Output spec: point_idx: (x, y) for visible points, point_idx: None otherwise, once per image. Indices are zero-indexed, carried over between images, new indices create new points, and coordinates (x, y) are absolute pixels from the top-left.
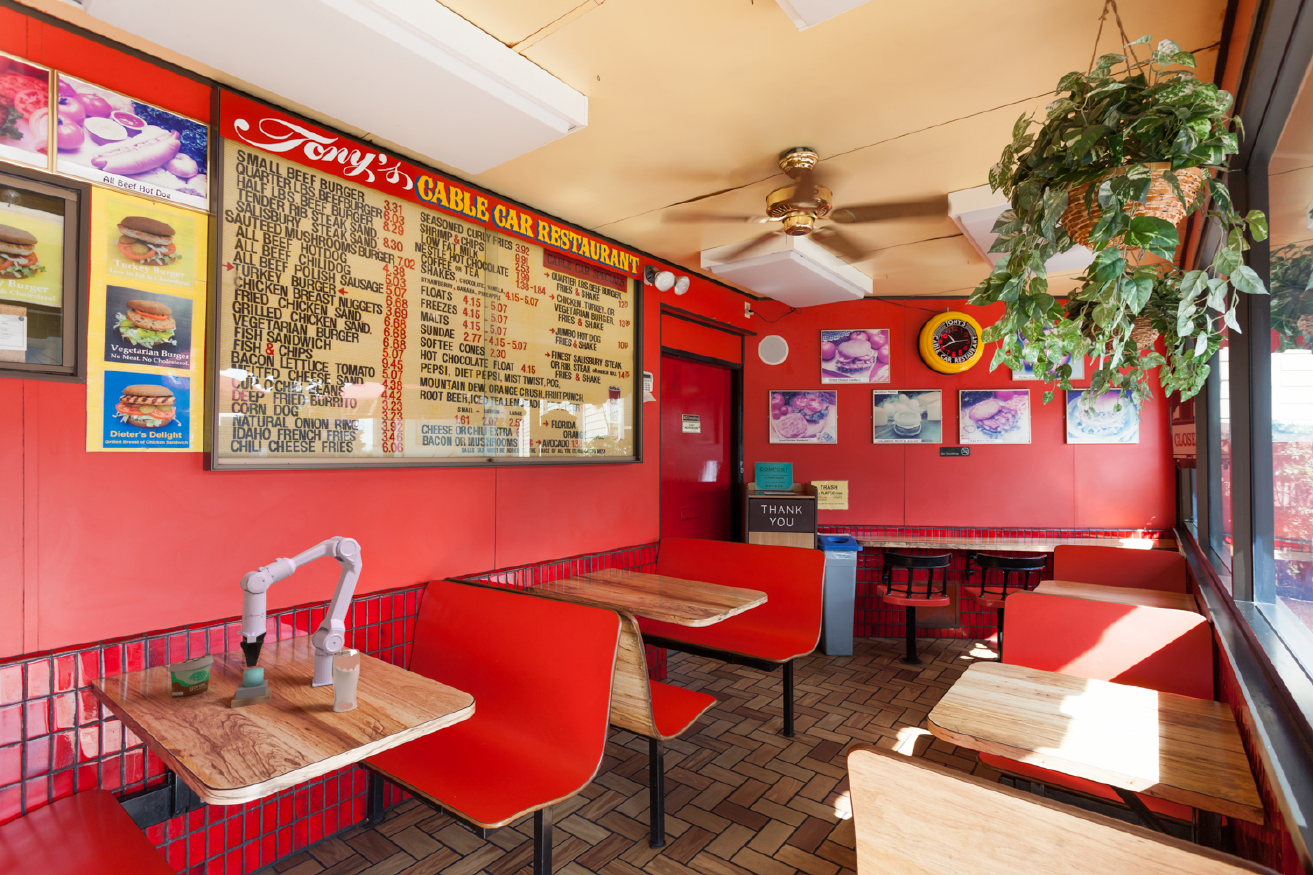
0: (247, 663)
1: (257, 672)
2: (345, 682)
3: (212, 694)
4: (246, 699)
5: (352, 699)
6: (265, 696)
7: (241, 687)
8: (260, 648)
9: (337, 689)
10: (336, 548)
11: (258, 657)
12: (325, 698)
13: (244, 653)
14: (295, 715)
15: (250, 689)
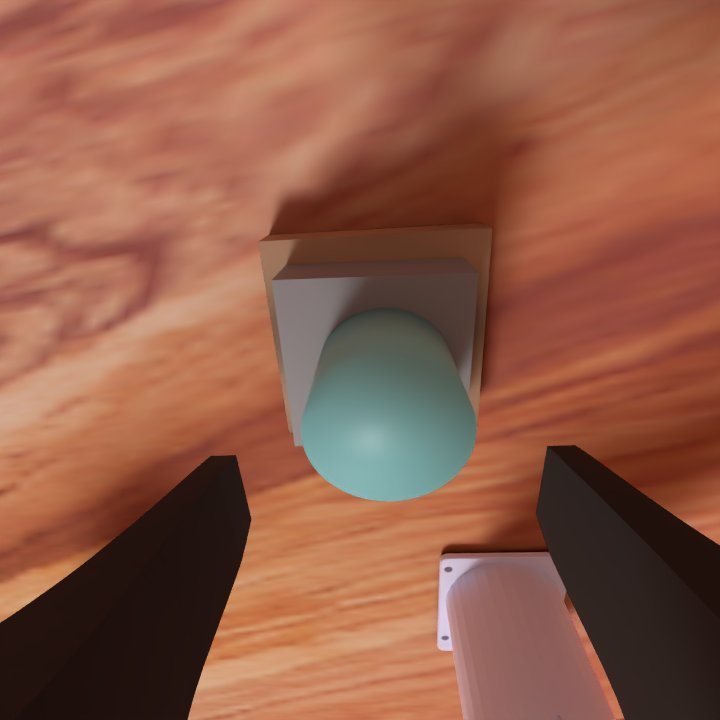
0: (183, 487)
1: (314, 464)
2: None
3: (688, 24)
4: (273, 325)
5: None
6: (289, 413)
7: (345, 305)
8: (599, 652)
9: None
10: None
11: (541, 527)
12: (259, 587)
13: (23, 607)
14: (76, 512)
15: (286, 365)
